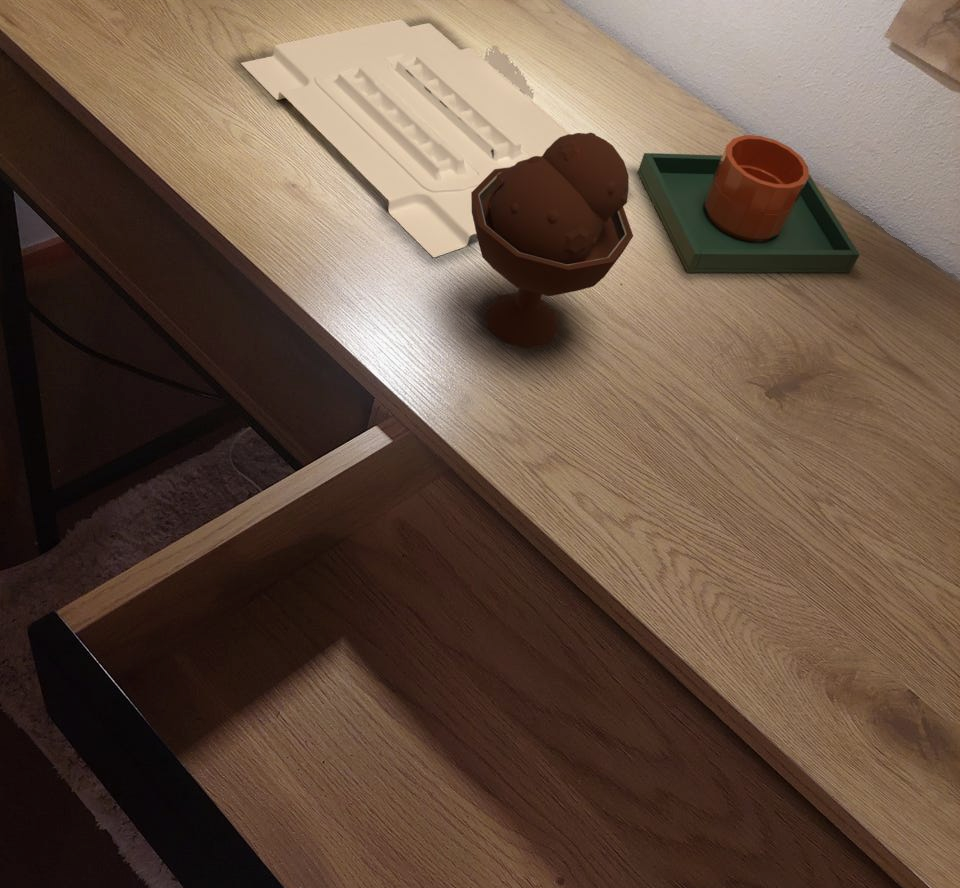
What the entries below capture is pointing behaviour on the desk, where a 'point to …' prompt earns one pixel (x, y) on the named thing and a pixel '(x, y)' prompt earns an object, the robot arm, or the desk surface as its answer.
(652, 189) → the green tray
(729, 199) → the small cup
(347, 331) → the desk surface
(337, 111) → the tray
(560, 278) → the ice cream bowl
